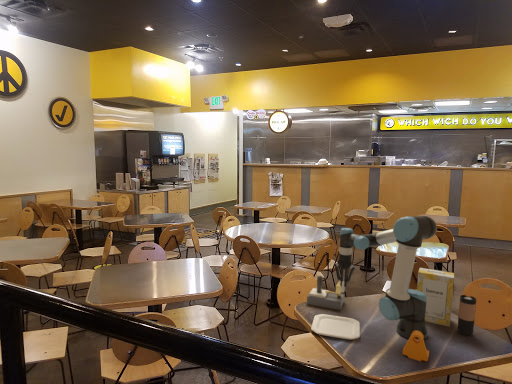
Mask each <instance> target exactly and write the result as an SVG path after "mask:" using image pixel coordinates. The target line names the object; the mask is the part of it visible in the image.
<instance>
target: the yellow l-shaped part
mask: <svg viewBox="0 0 512 384" xmlns="http://www.w3.org/2000/svg"><path fill="white" fill-rule="evenodd" d="M325 292H326V293H331V294H337V298H341V294H342V286H340V280H338V282H337V284H336V285H335V292H334V291H330V290H329V291H325Z"/></svg>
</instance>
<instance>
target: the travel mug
mask: <svg viewBox="0 0 512 384" xmlns="http://www.w3.org/2000/svg"><path fill="white" fill-rule="evenodd" d="M459 298H460V299H459V305H458V316H457V333H458V334H459V335H461V336H464V337H473V335H474V334H473V333H474V327H475V326H474V325H475V320H476V318H475V317H476V308H477V298H476V297H474V296H471V295H470V296H467V295H466V294H461V295H460V297H459Z"/></svg>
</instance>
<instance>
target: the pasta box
mask: <svg viewBox="0 0 512 384" xmlns="http://www.w3.org/2000/svg"><path fill="white" fill-rule="evenodd" d="M454 283H455V273H454V272H450V271H443V270H438V269H430V268H424V267H419V269H418V274H417V286H416V290H417V291H420V292H422V293H424V294H425V295H426V297H427V300H426V301H427V302H426V312H425V323H426V322H427V323H430V324H435V325H440V326H445V327H449V328H450V327H451V317H452V304H453V294H454Z"/></svg>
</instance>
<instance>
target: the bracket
mask: <svg viewBox="0 0 512 384" xmlns="http://www.w3.org/2000/svg"><path fill="white" fill-rule="evenodd" d="M415 337H418V338H419V340H418V339H416V338H415ZM423 339H424V336H423V334H422V333H421V332H420V331H413V332H412V334H411V336H410V338H409V339H408V340H407V342H405V344H404V346H403V348H402V355H403V356H407V357H408V359H411V360H416V361H418V362H422V361H424V362H429V357H430V350H427V346H426V344H425V339H424V340H423Z"/></svg>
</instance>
